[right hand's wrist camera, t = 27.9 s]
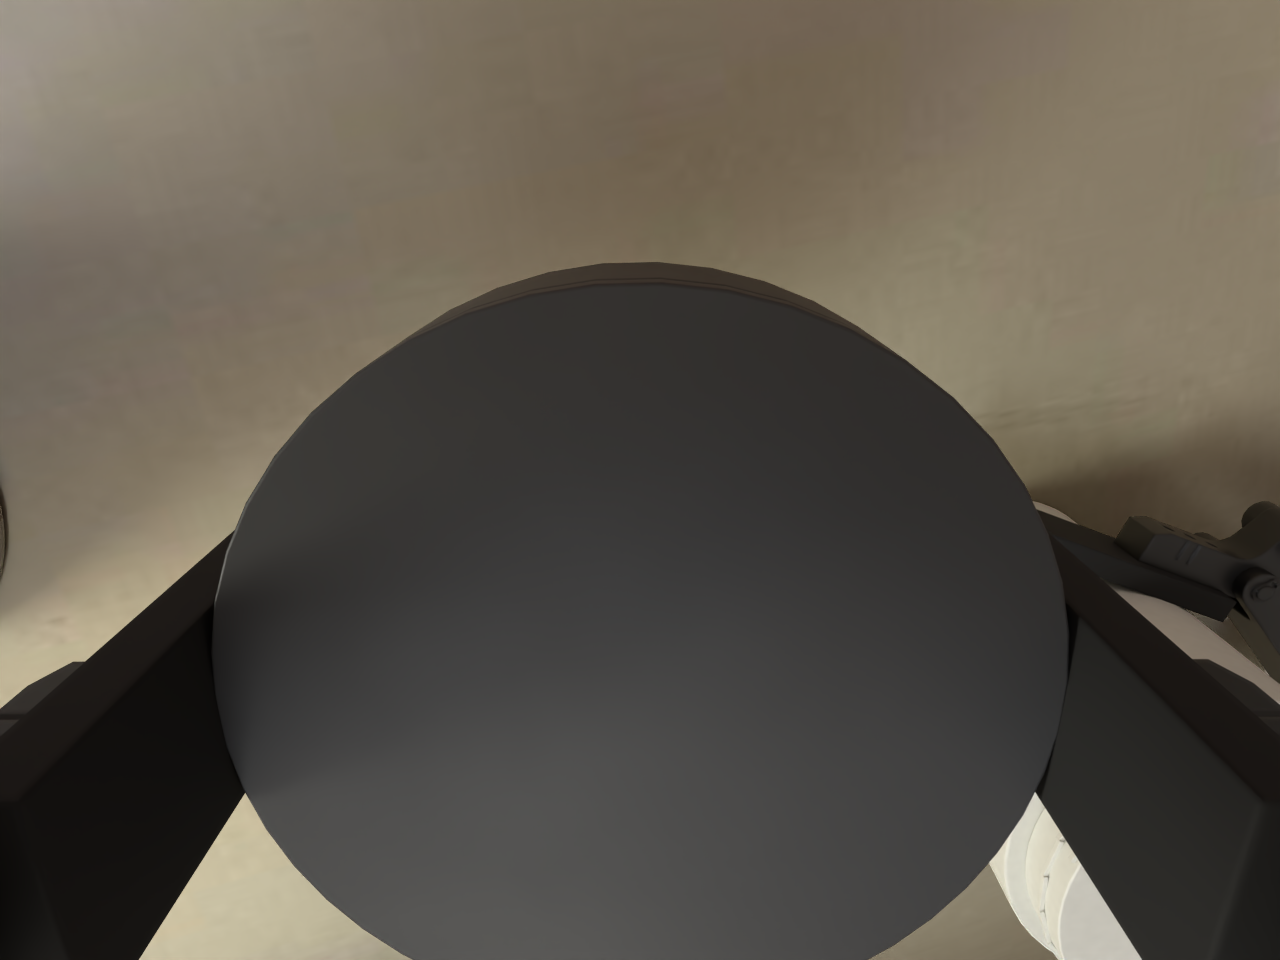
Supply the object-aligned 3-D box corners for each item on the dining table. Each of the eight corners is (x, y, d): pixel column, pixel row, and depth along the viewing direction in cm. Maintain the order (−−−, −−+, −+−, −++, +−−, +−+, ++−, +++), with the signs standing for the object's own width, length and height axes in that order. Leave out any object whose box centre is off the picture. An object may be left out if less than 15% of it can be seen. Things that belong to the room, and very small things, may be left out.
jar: (1150, 553, 34) (1527, 833, 19) (1016, 730, 37) (1258, 1084, 22) (952, 458, 32) (1204, 686, 18) (829, 651, 35) (961, 976, 21)
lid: (826, 102, 10) (876, 83, 8) (1089, 748, 13) (1173, 855, 11) (131, 485, 11) (21, 552, 9) (516, 973, 15) (495, 1102, 13)
